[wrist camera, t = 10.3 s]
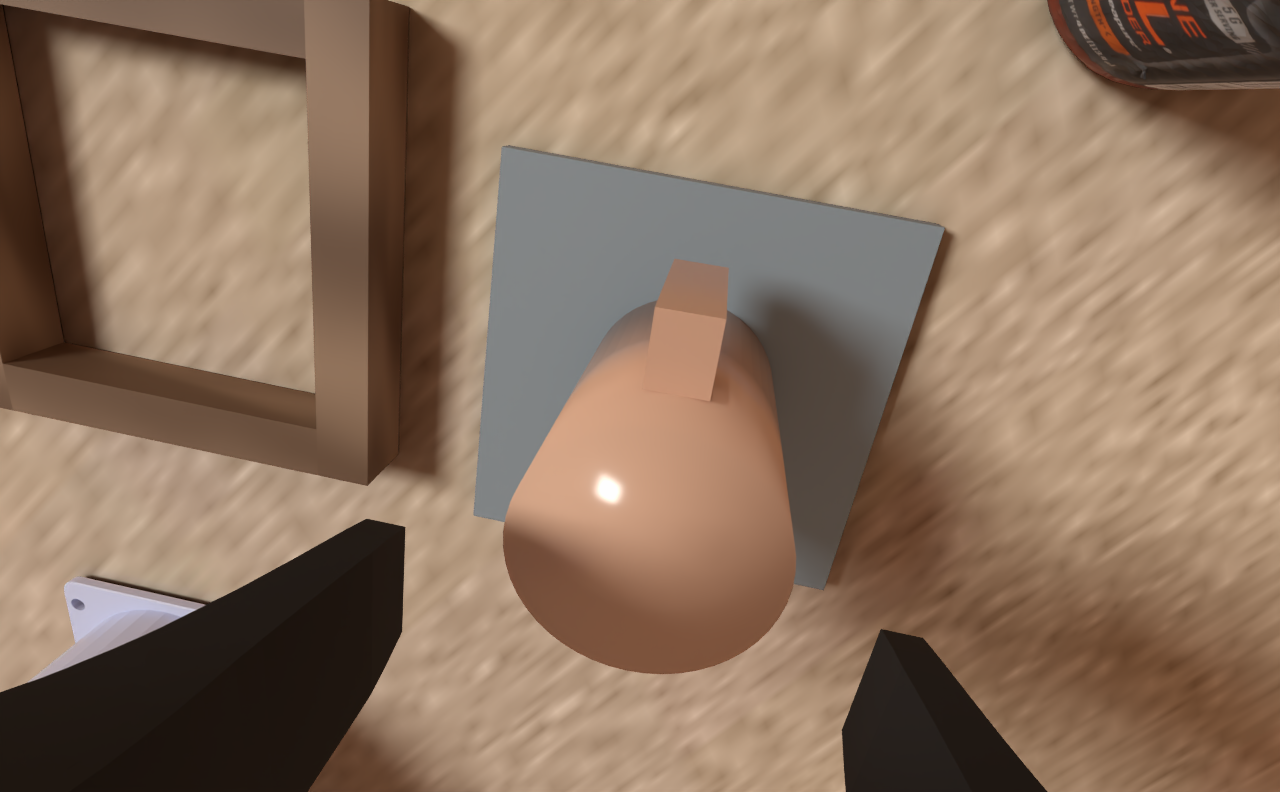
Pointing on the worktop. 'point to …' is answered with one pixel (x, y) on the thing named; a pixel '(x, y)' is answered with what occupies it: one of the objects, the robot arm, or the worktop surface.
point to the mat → (757, 294)
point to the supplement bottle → (1175, 41)
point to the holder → (340, 250)
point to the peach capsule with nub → (660, 492)
